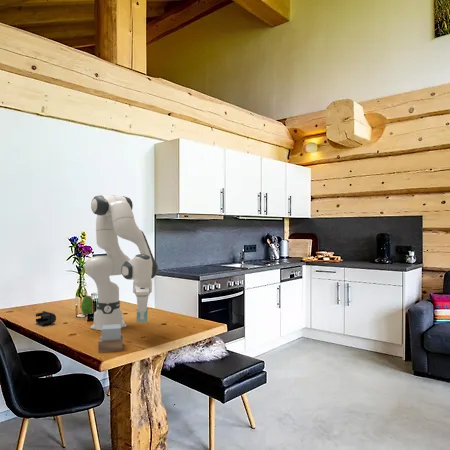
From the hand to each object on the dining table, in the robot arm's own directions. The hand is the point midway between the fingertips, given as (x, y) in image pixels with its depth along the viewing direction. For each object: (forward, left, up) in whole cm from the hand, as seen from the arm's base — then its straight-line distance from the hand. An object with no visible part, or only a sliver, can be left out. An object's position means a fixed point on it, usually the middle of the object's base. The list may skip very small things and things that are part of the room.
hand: (141, 317), depth 189 cm
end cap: (-44, -53, -12) cm, 70 cm away
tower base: (+9, -14, -12) cm, 20 cm away
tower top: (+9, -13, -7) cm, 17 cm away
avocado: (-64, -33, -12) cm, 73 cm away
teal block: (0, 0, -2) cm, 2 cm away
